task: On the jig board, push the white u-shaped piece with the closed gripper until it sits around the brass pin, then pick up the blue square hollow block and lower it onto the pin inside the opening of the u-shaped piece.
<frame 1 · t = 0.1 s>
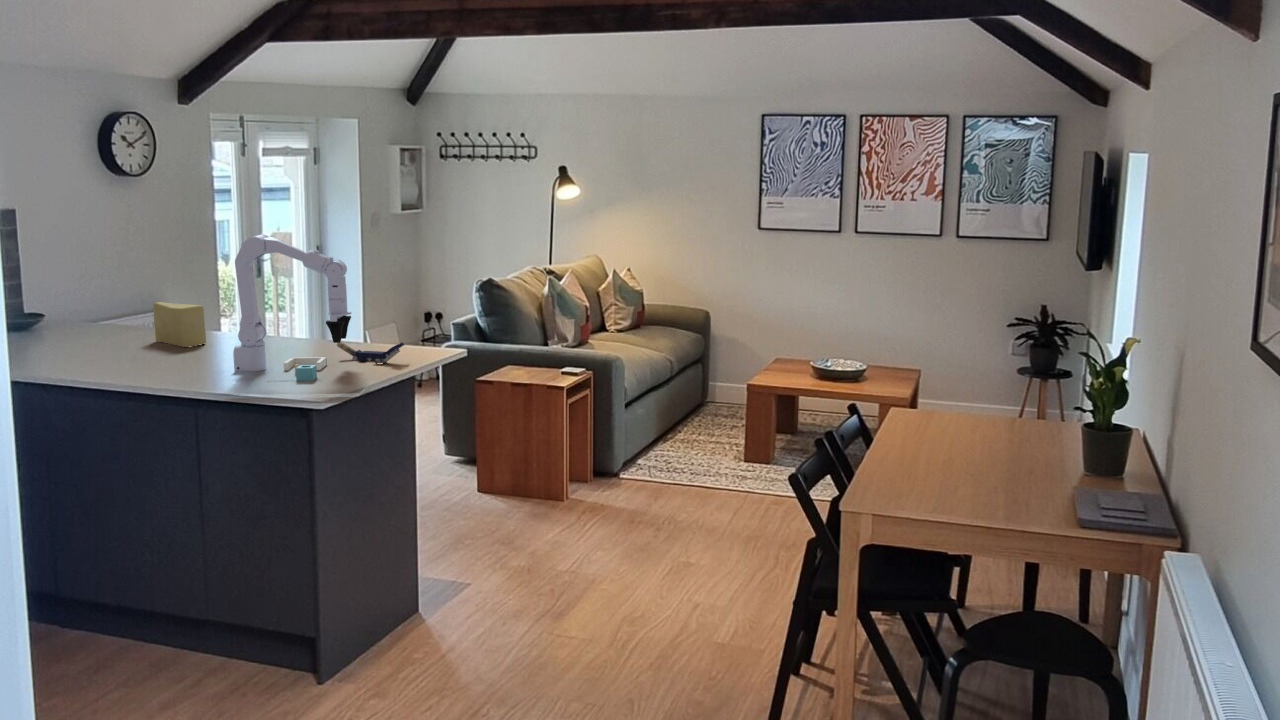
hand: (339, 340, 365), 10 cm above the table, tool pointing down, fingers open, 7 cm apart
blue square hollow block: (306, 379, 350), point 1 cm above the table, touching board
toy: (370, 363, 381), on the table
white u-shaped piece: (305, 363, 367), point 2 cm above the table, slide at 0.0 cm
cheese: (176, 344, 419), on the table
board: (304, 375, 360), on the table
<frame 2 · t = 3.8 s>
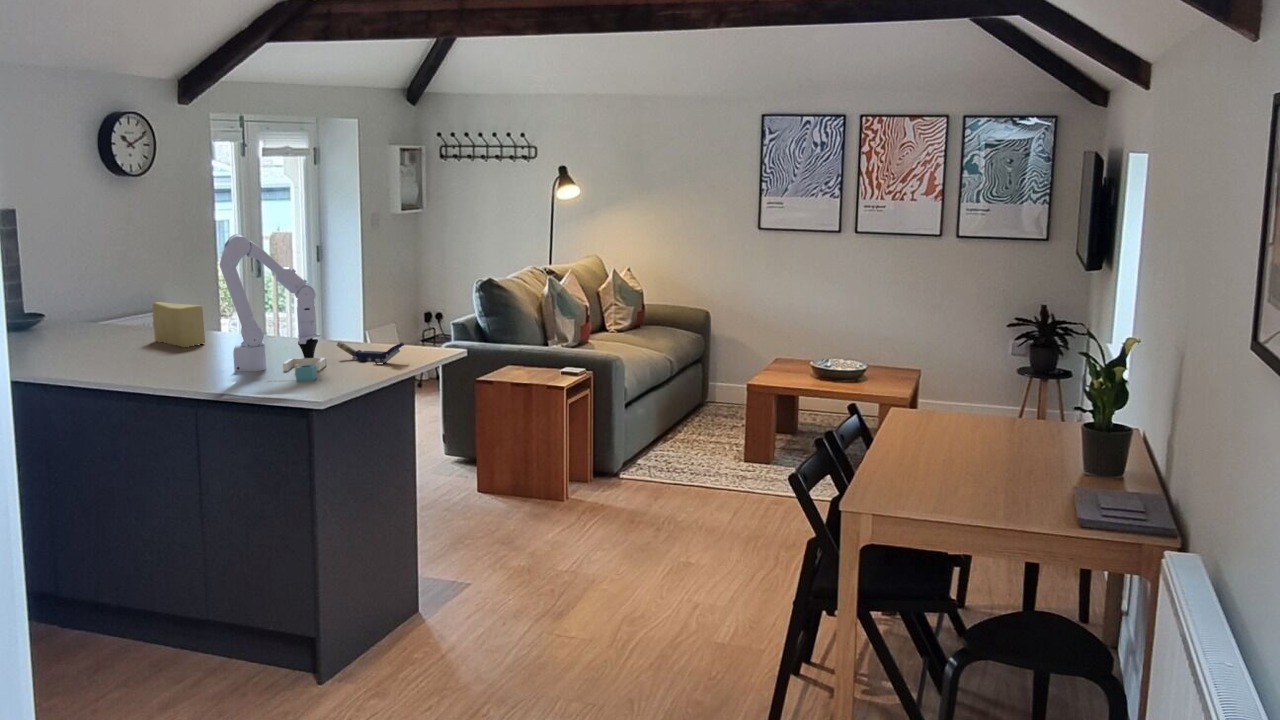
hand: (309, 362, 372), 2 cm above the table, tool pointing down, fingers closed
white u-shaped piece: (304, 364, 366), point 2 cm above the table, slide at 0.8 cm, touching gripper
everything else where it was.
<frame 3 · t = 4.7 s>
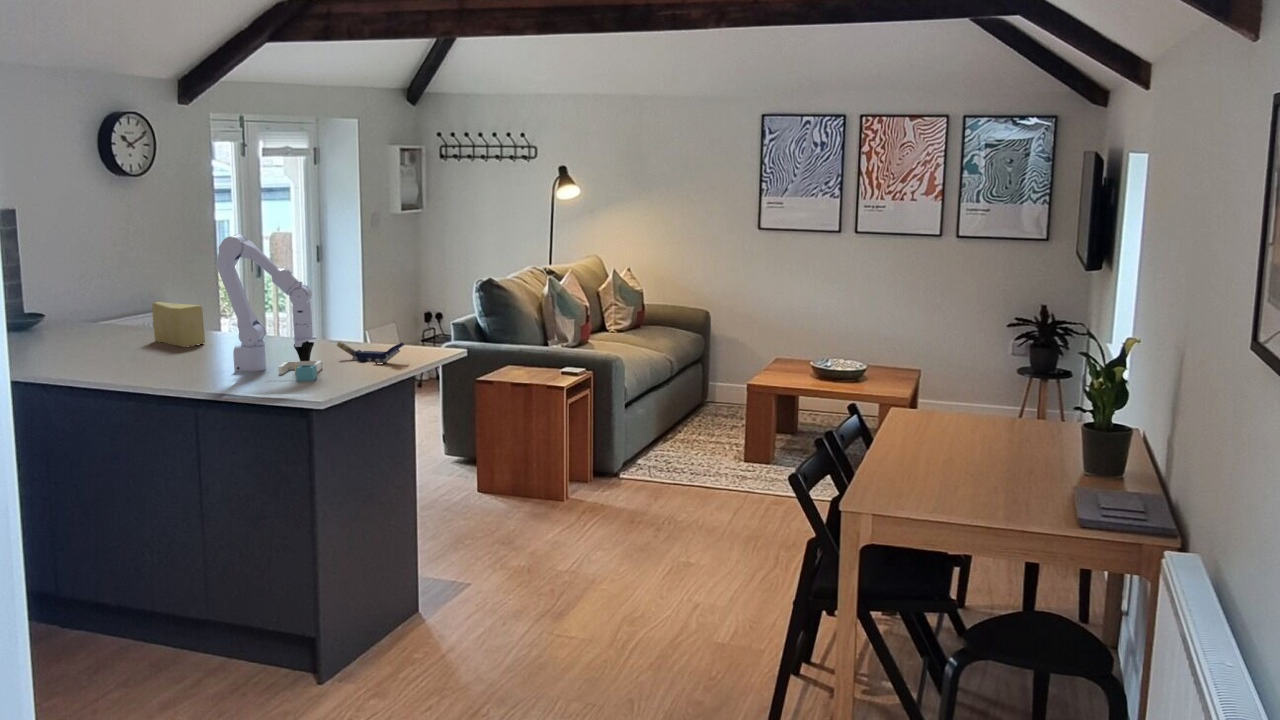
hand: (305, 365, 367), 2 cm above the table, tool pointing down, fingers closed
white u-shaped piece: (300, 367, 361), point 2 cm above the table, slide at 6.0 cm, touching gripper
everything else where it was.
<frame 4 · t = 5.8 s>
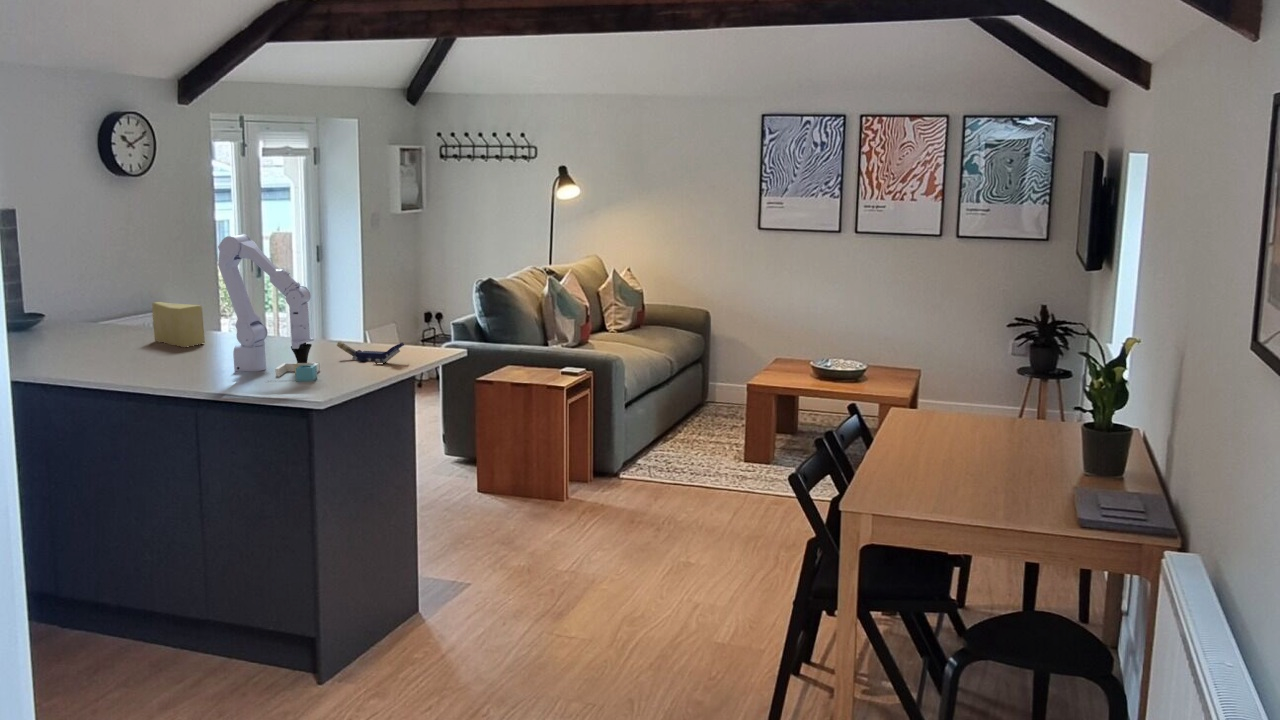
hand: (302, 367, 364), 2 cm above the table, tool pointing down, fingers closed
white u-shaped piece: (297, 369, 358), point 2 cm above the table, slide at 9.3 cm, touching gripper
everything else where it was.
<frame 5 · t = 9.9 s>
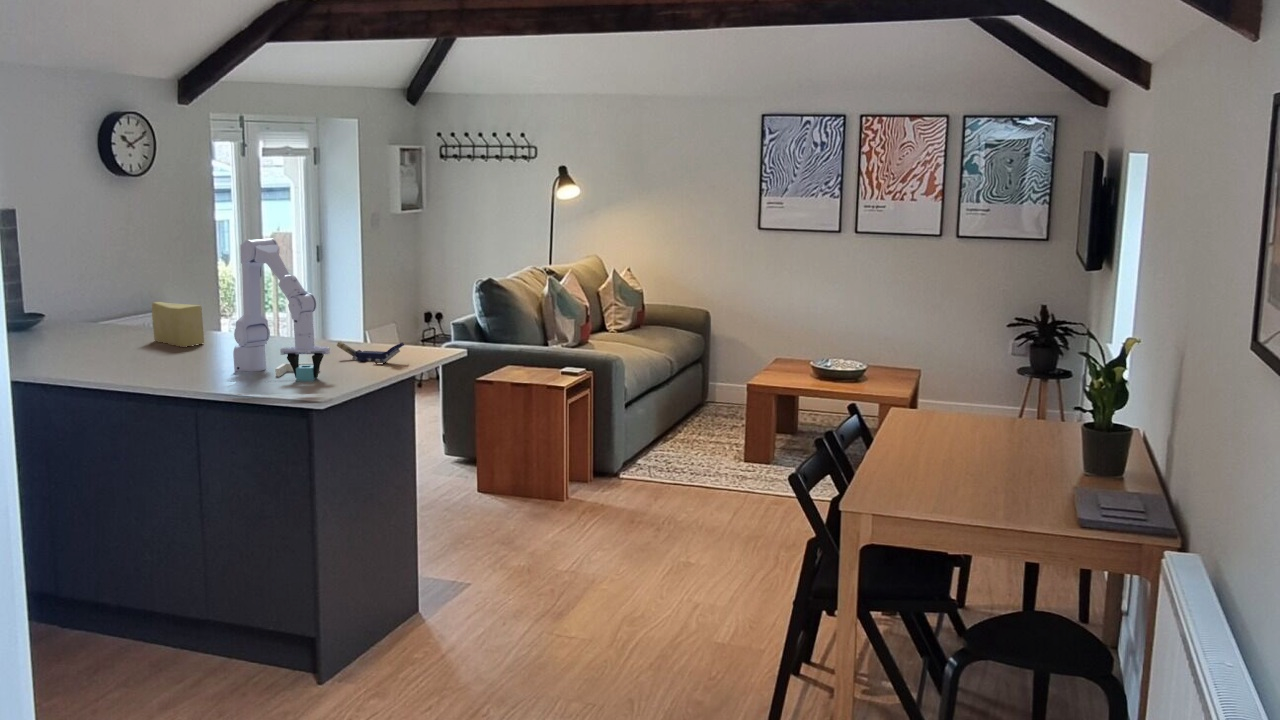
hand: (306, 377, 350), 2 cm above the table, tool pointing down, fingers closed on blue square hollow block, 5 cm apart
blue square hollow block: (306, 379, 350), point 1 cm above the table, touching board, gripper
white u-shaped piece: (297, 369, 358), point 2 cm above the table, slide at 9.3 cm
everything else where it was.
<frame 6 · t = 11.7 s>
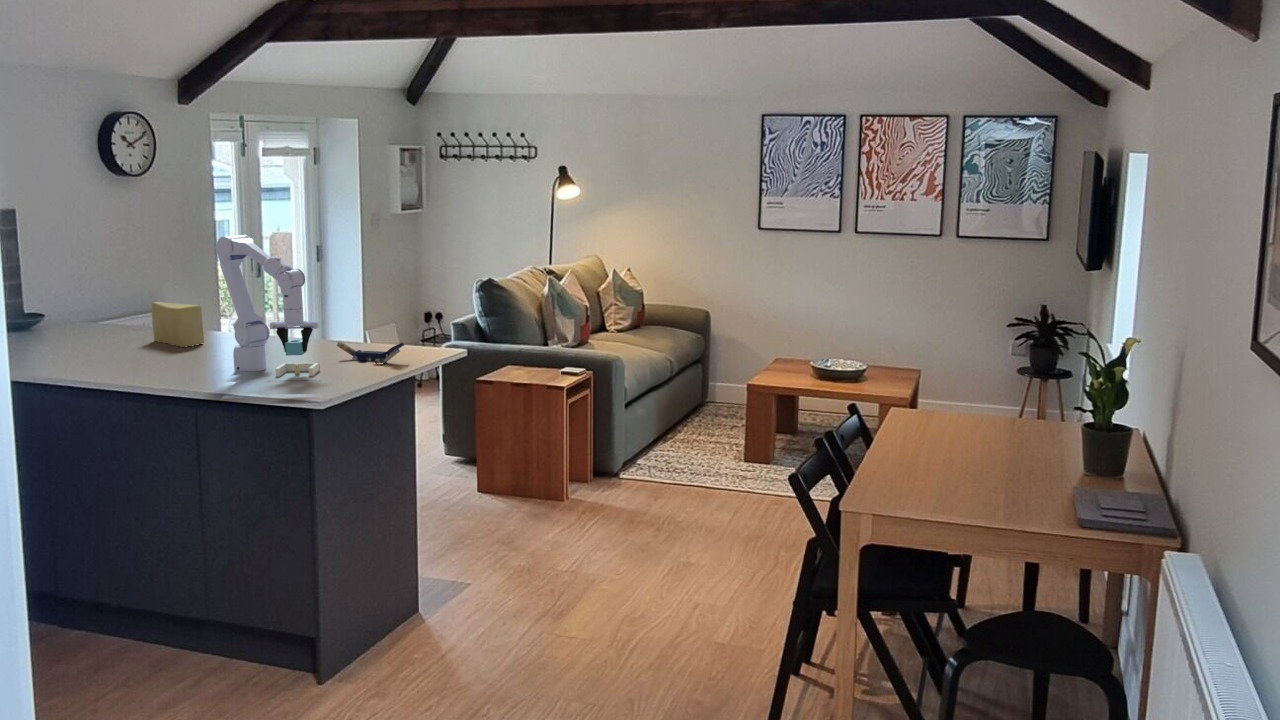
hand: (295, 351, 356), 8 cm above the table, tool pointing down, fingers closed on blue square hollow block, 5 cm apart
blue square hollow block: (296, 353, 356), point 8 cm above the table, touching gripper
everything else where it was.
when the fingers open (3 cm above the table, at t = 13.5 s): blue square hollow block stays where it is, resting on board.
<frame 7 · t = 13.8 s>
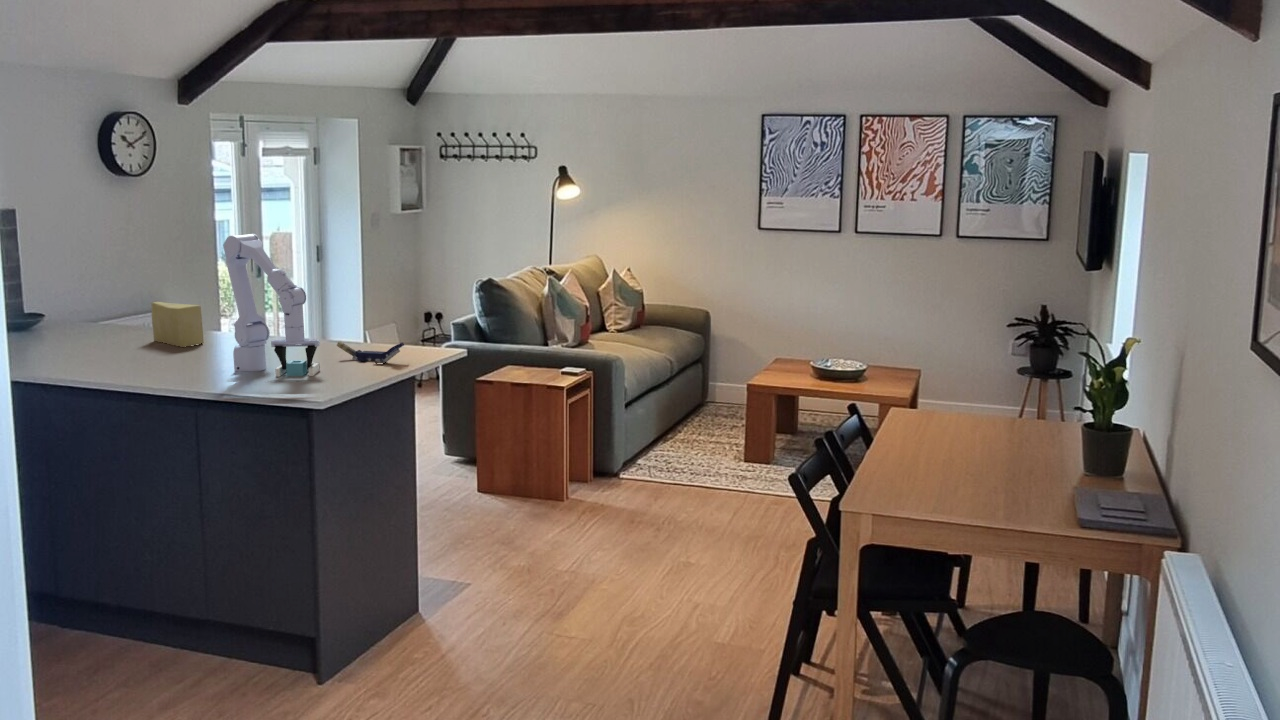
hand: (297, 369, 357), 3 cm above the table, tool pointing down, fingers open, 7 cm apart
blue square hollow block: (297, 374, 357), point 1 cm above the table, touching board
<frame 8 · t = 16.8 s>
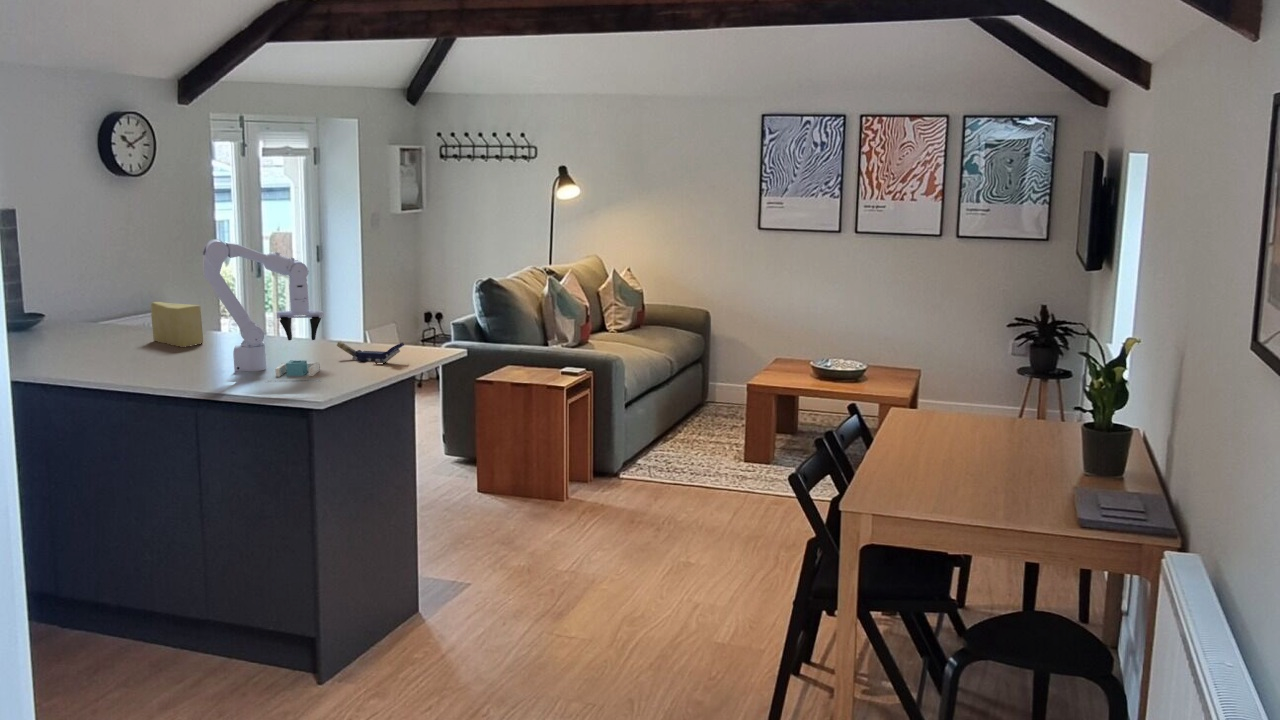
hand: (301, 339, 371), 9 cm above the table, tool pointing down, fingers open, 7 cm apart
at the end: white u-shaped piece slide at 9.3 cm; blue square hollow block 0.1 cm from the target spot, point 1.0 cm above the table; blue square hollow block tilted 0° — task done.
